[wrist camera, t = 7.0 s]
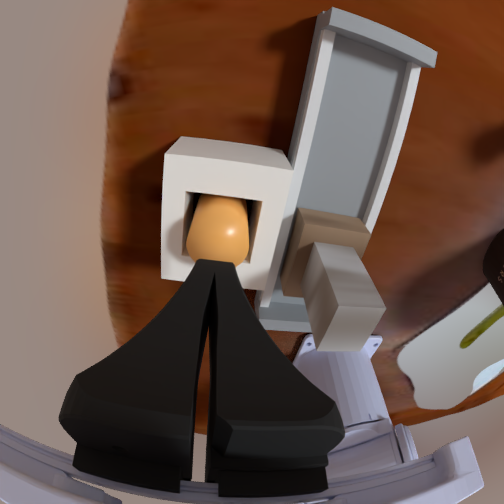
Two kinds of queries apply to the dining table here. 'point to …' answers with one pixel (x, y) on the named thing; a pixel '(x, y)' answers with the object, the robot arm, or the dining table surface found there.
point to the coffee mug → (495, 265)
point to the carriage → (332, 279)
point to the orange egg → (219, 229)
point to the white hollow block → (226, 184)
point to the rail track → (344, 136)
